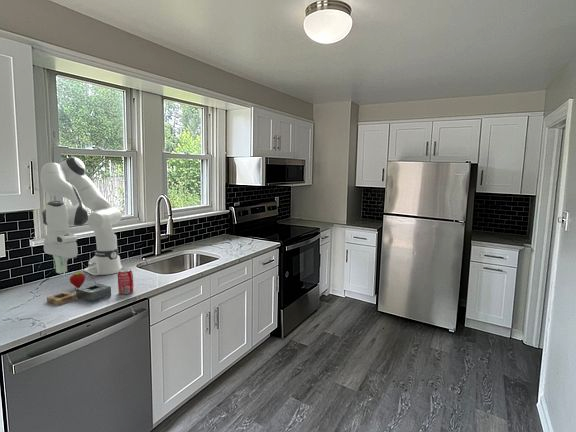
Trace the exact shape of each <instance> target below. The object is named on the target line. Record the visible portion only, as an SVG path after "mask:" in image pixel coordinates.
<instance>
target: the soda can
mask: <svg viewBox="0 0 576 432" xmlns="http://www.w3.org/2000/svg"><path fill="white" fill-rule="evenodd" d="M117 287H118V288H117V289H118V293H119V294H121V295H129V294H131V293H132V292H134V274H133V271H132V269H131V268H122V269H121V270H119V272H117Z"/></svg>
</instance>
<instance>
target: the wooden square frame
mask: <svg viewBox="0 0 576 432" xmlns="http://www.w3.org/2000/svg"><path fill="white" fill-rule="evenodd" d="M73 301H77V298H76V293H73V292H69V291H66V290H65V291H62V292H59V293H56V294H53V295H49V296H46V303H49V304H51V305H55V306H61V305H65V304H67V303H70V302H73Z"/></svg>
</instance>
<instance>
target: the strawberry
mask: <svg viewBox="0 0 576 432" xmlns="http://www.w3.org/2000/svg"><path fill="white" fill-rule="evenodd" d="M85 280H86V276H85V274H84V271H83V272H81V271H79V272H74V273H73V274H71V276H70V277H69V282H70V283H71V285H73V286H74V287H75V288H79V287H82V286H83V284H84V282H85Z"/></svg>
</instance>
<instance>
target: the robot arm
mask: <svg viewBox="0 0 576 432" xmlns="http://www.w3.org/2000/svg"><path fill="white" fill-rule="evenodd" d="M39 177H40V178H39V181H40V184H41V185H40V186H41V189H42V190H43V192H44V193H46V194H48V195H50V196H53V197H59V198H60V197H61V198H65V199H68V200H70V203H71V204H72V205H69V206H67V203H66V202H65V201H61V200H52V201H49V202H47V203H46V208H45V209H44V210H43V211H41V215H42V222H43V223H42V224H44V225H46V226H47V227H46V235H45V237H44V240H43V251H44V254H48V255H51V256H52V258H53V260H54V261H55V255H56V256H60V257H62V259H63V261H62V262H61V265H62V266H66V265H67V266H68V260H69V259H73V258H74V259H75V258H77V256H78V253H79V251H78V243H77V241H78V236H77V235H76V234H74V233H73V232H72V231H71V228H70V226H79V227H80V226H81V227H83V225H85V224H87V225H88V226H89V227H90V228H91V229H92V230H93V233H94V236H95V242H96V244H95V245H96V249H94V250H93V252H94V253H95V254H94V256H93V257H92V258H91V259H89V260H88V263H87V264H88V266H87V267H86V268H84V269H83V272H86V273H88V274H89V275H93V276H105V275H112V274H116V273H117V274H118V273H119V270H121V269H124V268H123V265H122V263H121V257H120V255H119V248H118V238H117V234H116V233H114V229H113V226H115V225H116V224H118V223H119V222H121V220H122V218H123V217H122V216H123V215H122V212H121V210H120V209H119V208H116V207H115V206H114V205H112V204H111V203H110V202H109V201H108V200H107V199H106V198H105V197H104V195H102V194H101V192H100V191H99V188H97V186H96V185H95V184H94V182H93V181H92V180H91V179H90V178H89V177H88V176H87V174H86V166H85V164H84V162H83V161H82V160H81V159H80V158H79V157H76V156H71V157H68V158H66V159H65V160H62V161H61V162H59V163H56V162H47V163H44V164H43V166H42V167H41V170H40V176H39ZM87 209H89V210H91V211H92V212H91V213H89V211H88V210H87Z"/></svg>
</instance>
